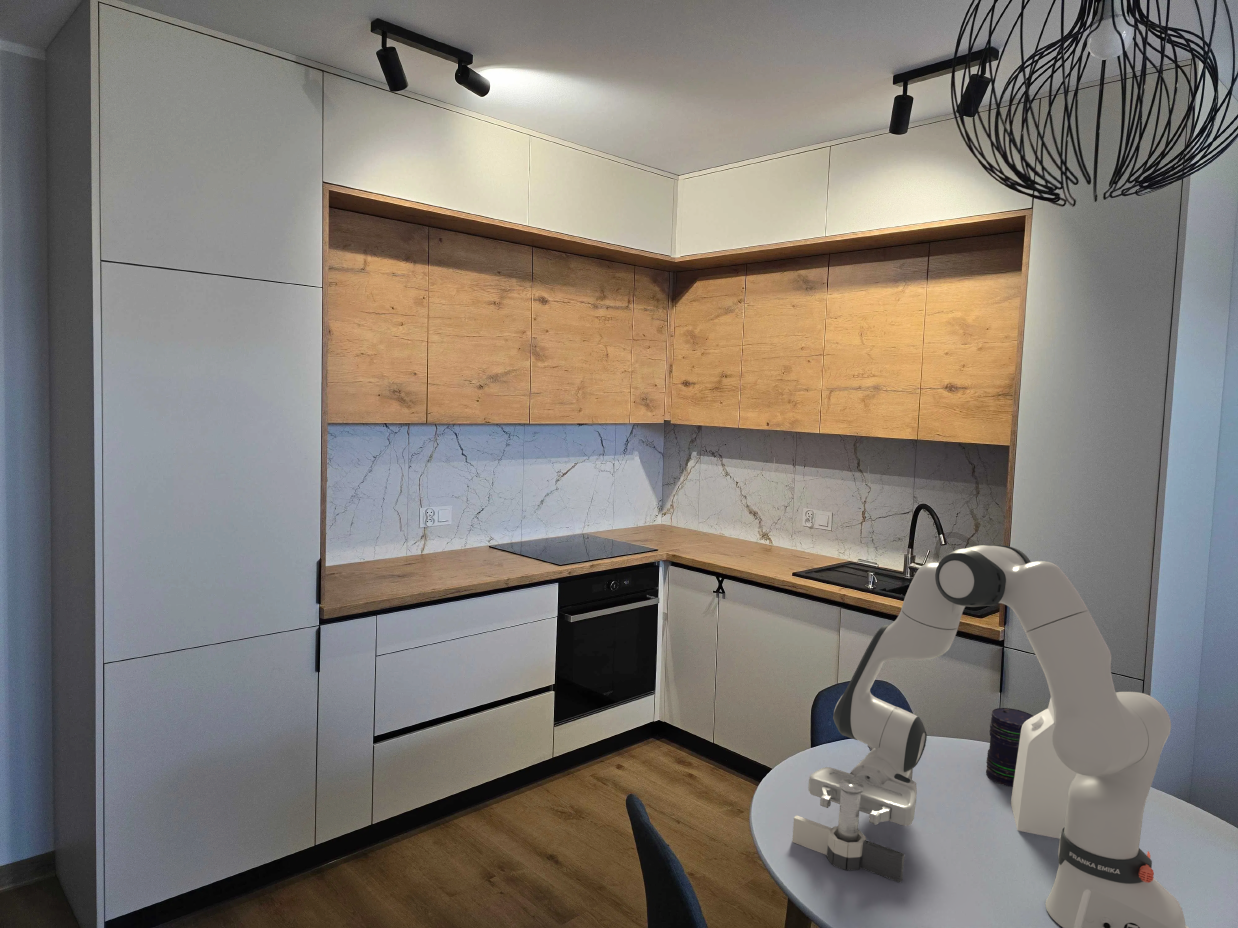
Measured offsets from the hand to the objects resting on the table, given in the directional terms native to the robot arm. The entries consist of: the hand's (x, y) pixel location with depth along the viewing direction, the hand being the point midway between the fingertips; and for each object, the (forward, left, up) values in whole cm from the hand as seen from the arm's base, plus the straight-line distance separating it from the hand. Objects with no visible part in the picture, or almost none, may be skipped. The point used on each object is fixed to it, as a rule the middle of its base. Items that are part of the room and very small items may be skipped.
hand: (847, 811), depth 158 cm
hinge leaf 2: (-4, -1, -10) cm, 11 cm away
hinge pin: (0, -1, -10) cm, 10 cm away
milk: (-28, -42, -10) cm, 51 cm away
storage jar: (-18, -59, -10) cm, 62 cm away
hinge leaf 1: (+4, -1, -10) cm, 11 cm away
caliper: (+6, -47, -10) cm, 48 cm away
